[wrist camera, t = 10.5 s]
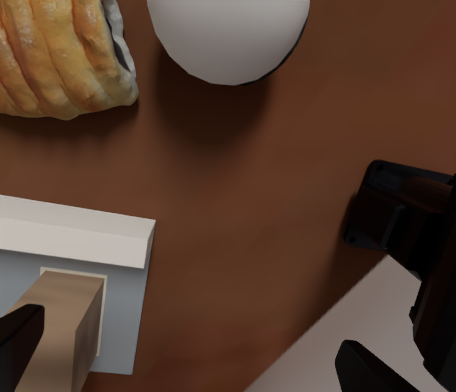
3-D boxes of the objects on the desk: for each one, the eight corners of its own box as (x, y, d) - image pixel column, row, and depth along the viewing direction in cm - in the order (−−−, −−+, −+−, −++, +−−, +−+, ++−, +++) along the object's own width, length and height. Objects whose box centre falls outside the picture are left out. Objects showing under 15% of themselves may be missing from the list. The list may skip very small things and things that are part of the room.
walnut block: (96, 353, 23) (68, 419, 18) (43, 348, 22) (-1, 415, 18) (104, 278, 21) (75, 330, 16) (45, 270, 20) (-3, 322, 15)
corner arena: (155, 220, 20) (147, 239, 17) (132, 371, 24) (123, 407, 21) (-70, 183, 18) (-120, 199, 15) (-53, 355, 22) (-91, 392, 19)
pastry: (2, 137, 18) (-49, 146, 14) (-57, 15, 16) (-134, -12, 12) (150, 101, 18) (136, 101, 14) (111, -26, 16) (84, -64, 12)
